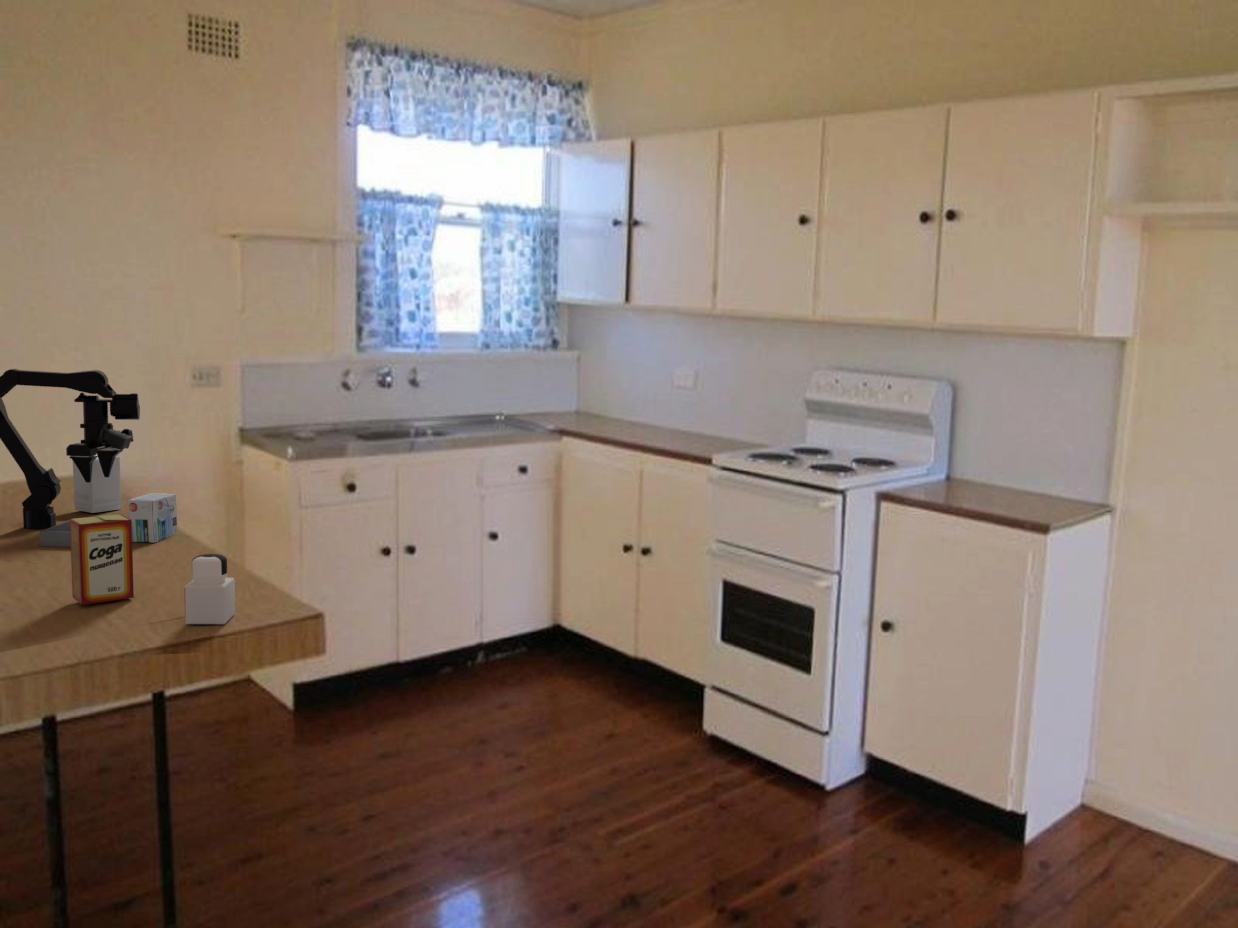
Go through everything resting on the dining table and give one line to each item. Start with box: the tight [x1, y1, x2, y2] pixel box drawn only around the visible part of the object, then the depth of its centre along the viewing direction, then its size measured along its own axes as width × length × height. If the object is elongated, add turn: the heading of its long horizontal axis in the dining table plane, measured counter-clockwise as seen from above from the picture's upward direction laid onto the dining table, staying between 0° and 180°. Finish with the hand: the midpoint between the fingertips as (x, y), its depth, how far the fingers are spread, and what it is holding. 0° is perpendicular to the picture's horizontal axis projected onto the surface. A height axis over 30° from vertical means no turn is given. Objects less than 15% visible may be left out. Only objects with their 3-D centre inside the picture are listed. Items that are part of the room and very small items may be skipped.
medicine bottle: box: [184, 553, 236, 625], centre depth 199 cm, size 7×7×12 cm
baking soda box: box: [69, 514, 134, 606], centre depth 211 cm, size 10×6×16 cm
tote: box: [39, 519, 71, 548], centre depth 262 cm, size 15×15×4 cm
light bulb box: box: [127, 492, 178, 544], centre depth 265 cm, size 11×7×11 cm
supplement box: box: [72, 454, 122, 514], centre depth 300 cm, size 9×9×15 cm
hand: (97, 479), depth 278 cm, fingers open, 9 cm apart
